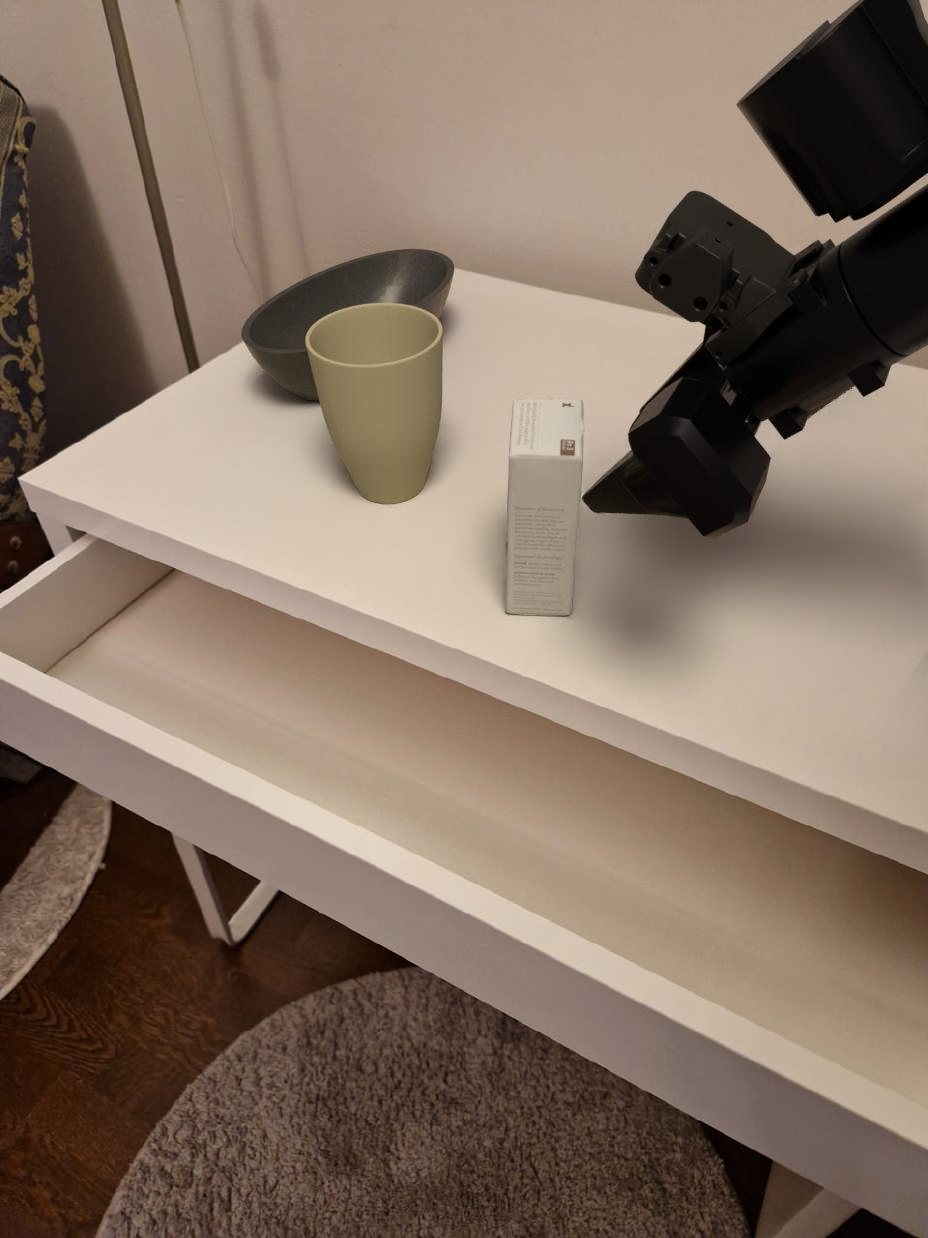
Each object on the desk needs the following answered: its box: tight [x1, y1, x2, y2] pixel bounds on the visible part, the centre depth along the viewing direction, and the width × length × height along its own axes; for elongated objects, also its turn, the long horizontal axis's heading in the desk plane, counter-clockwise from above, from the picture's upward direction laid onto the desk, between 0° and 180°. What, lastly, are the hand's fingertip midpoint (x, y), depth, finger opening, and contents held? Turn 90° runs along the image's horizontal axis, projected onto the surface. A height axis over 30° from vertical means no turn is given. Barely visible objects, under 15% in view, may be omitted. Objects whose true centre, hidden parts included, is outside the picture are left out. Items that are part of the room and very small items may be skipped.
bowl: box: [240, 248, 455, 402], centre depth 83 cm, size 12×22×6 cm, turn 142°
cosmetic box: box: [505, 398, 585, 617], centre depth 58 cm, size 6×4×12 cm
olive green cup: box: [305, 303, 444, 505], centre depth 68 cm, size 11×10×12 cm
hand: (617, 458), depth 53 cm, fingers open, 9 cm apart
